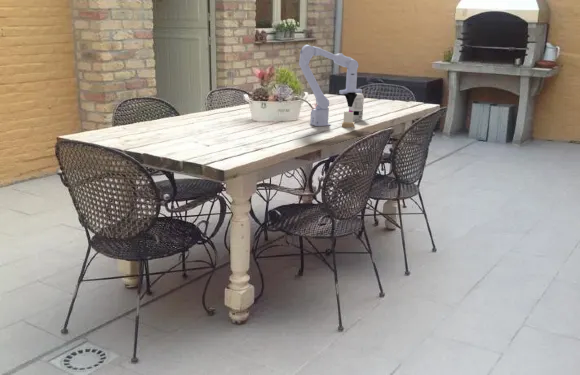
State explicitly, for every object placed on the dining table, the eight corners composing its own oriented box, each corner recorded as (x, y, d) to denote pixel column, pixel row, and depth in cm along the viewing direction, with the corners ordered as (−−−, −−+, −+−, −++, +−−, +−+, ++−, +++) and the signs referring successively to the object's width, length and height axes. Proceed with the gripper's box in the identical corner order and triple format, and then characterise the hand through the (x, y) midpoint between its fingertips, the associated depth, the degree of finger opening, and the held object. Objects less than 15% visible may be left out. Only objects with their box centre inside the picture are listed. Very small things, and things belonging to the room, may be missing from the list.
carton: (342, 124, 345) (343, 121, 345) (354, 125, 344) (354, 122, 344) (341, 127, 339) (342, 123, 338) (353, 127, 338) (353, 124, 337)
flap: (343, 122, 341) (343, 111, 339) (353, 123, 340) (354, 111, 339) (342, 123, 338) (343, 111, 337) (353, 124, 337) (353, 112, 336)
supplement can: (346, 119, 362) (347, 93, 358) (351, 117, 369) (353, 92, 365) (359, 121, 359) (360, 95, 355) (364, 119, 366) (366, 93, 362)
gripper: (356, 80, 345) (355, 104, 349) (336, 81, 337) (335, 106, 341) (365, 81, 339) (363, 106, 343) (344, 82, 332) (343, 108, 335)
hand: (350, 106), depth 342 cm, fingers closed
